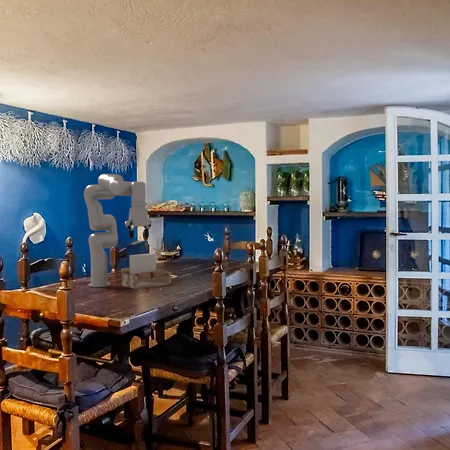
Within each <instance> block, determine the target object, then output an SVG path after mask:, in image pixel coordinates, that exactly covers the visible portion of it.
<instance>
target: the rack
mask: <svg viewBox="0 0 450 450" xmlns="http://www.w3.org/2000/svg"><path fill="white" fill-rule="evenodd" d="M157 267H158V266H157V264H156V271H160V269H157ZM120 271H121V272H120V275H121V276H120V277H121V279H120V280H121V281H120V282H121V286H122V287H127V288H130V289H135V290H138V289H146V288H153V287H160V286H161V287H162V286H167V285H171V284H172V272H171V271H165V276H163V277H155V278H147V279H139V280H138V277H137V276H135V275H130V268H127V267H126V268H125V267H124V268H121V270H120Z"/></svg>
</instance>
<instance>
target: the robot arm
mask: <svg viewBox="0 0 450 450" xmlns="http://www.w3.org/2000/svg"><path fill="white" fill-rule="evenodd" d="M97 183H98V184H90V185H87V186H86V187H85V189H84V191H83V198H84V201H85V205H86V207H87V215H88V216H87V217H88V223H89V228H90V230H92V231H97V232H94V233H92V234H90V235H89V236H88V246H89V254H90V282H89V283H88V286H89V287H91V288H101V287H102V288H103V287H109V286H111V282H109V281H108V255H107V252H106V251H105V249H110V248H111V249H112V248H115V247H116V246H118V243H119V236H118V227H117V221H116V218H115V217H114V216H113V215H112V214H107V213H106V214H104V211H103V206H102V204H101V202H99V200H111V199H114V198H115V196H119V197H122V196H123V197H125V196H126V197H129V196H131V207H129V212H128V220H126V221H125V222H124V224H125V227H126V229H127V230H128V236H129V238H130V239H134V238H135V231H134V229H135V227H138V228H139V227H143V228H144V229H143V237H144V238H149V234H150V233H149V232H150V231H149V230H150V229H151V227H152V224H153V220H152V219H150V218H149V214H148V213H149V212H148V208H147V206H148V203H147V202H146V201H147V200H146V199H147V197H146V196H147V195H146V194H147V192H146V191H147V190H146V189H147V184H146V183H145V182H144V181H125V180H124V178H123V176H122V175H120V174H116V173H115V174H114V173H103V174H101V175H100V176H98V179H97ZM98 231H103V232H98Z"/></svg>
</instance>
